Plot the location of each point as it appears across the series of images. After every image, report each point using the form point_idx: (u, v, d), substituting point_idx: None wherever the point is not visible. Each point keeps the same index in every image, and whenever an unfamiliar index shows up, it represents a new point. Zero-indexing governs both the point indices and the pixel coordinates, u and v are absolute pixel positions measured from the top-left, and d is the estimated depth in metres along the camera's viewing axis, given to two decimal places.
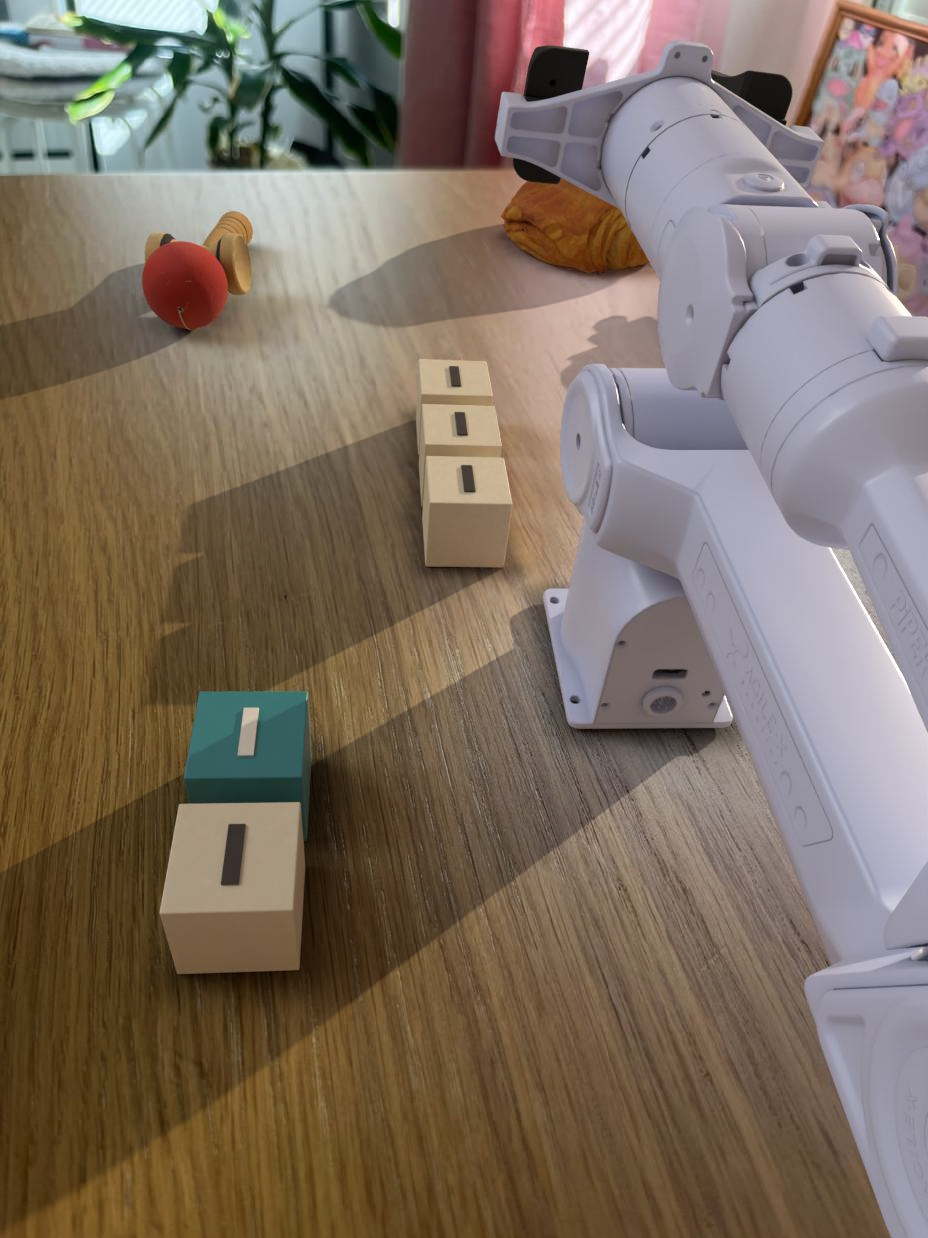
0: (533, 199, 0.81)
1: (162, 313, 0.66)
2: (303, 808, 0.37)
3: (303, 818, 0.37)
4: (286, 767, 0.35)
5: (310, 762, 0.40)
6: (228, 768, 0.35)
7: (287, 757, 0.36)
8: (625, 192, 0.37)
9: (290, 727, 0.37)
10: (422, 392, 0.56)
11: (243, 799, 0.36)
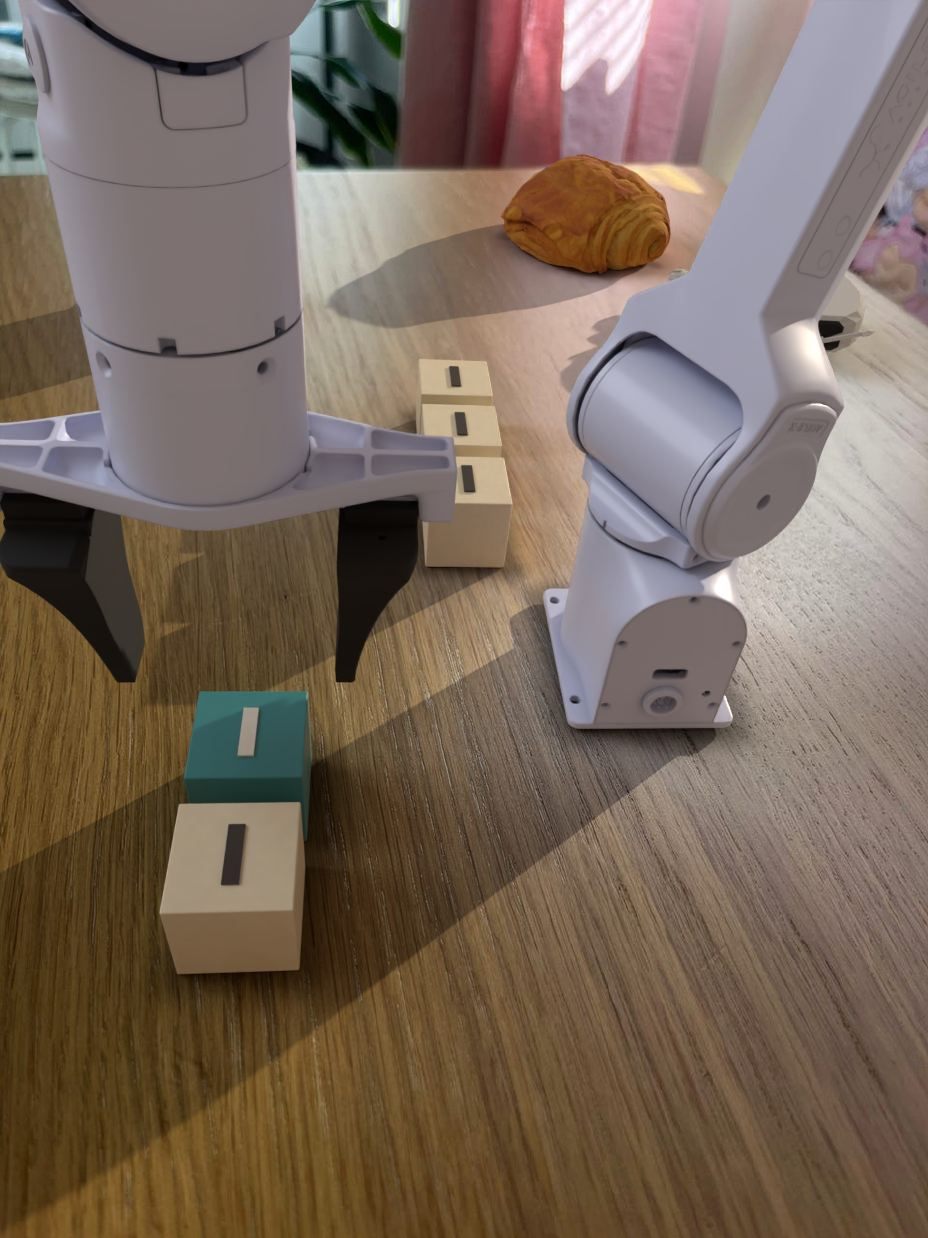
0: (533, 199, 0.81)
1: None
2: (303, 808, 0.37)
3: (303, 818, 0.37)
4: (286, 767, 0.35)
5: (310, 762, 0.40)
6: (228, 768, 0.35)
7: (287, 757, 0.36)
8: None
9: (290, 727, 0.37)
10: (422, 392, 0.56)
11: (243, 799, 0.36)
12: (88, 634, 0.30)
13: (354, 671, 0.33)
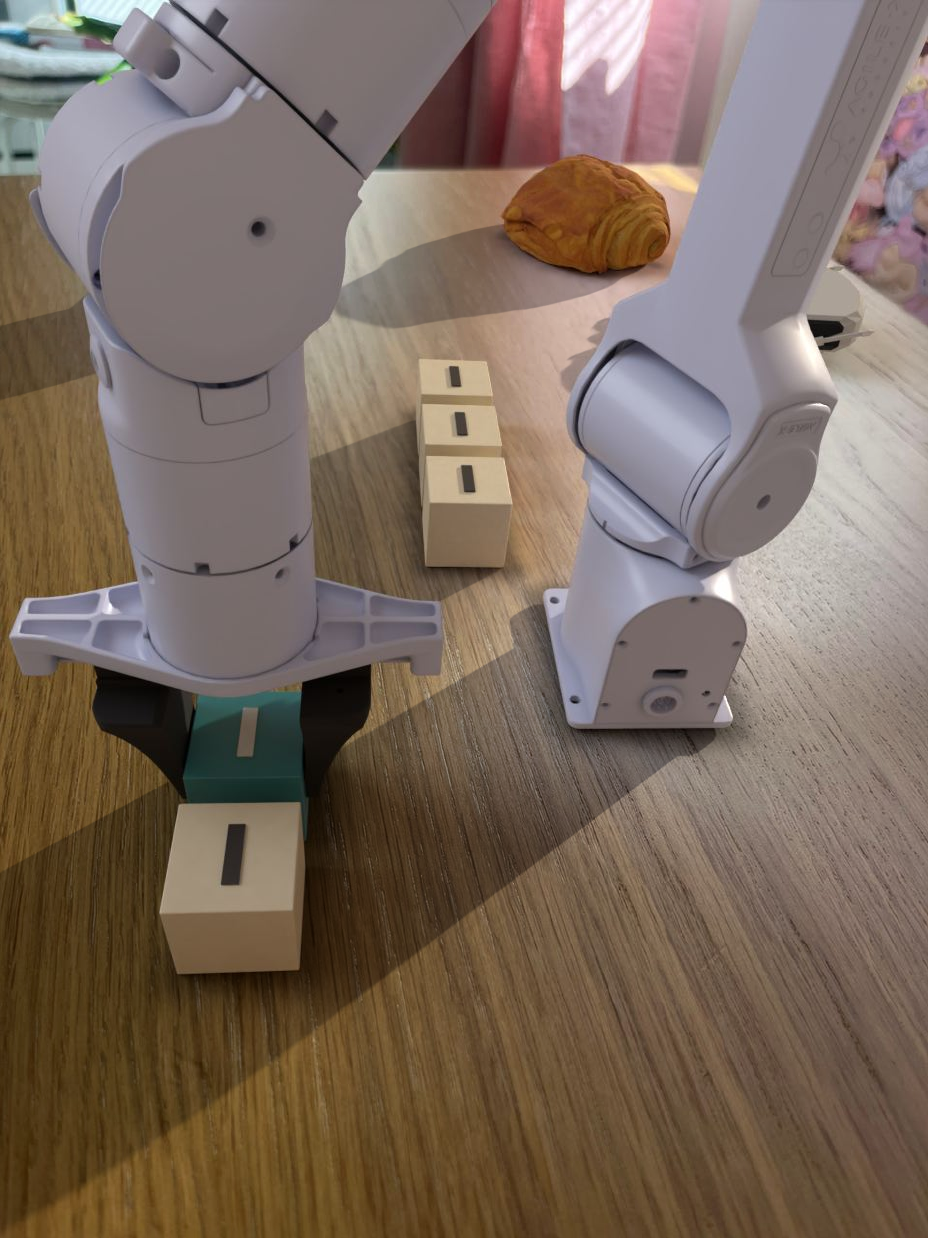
0: (533, 199, 0.81)
1: None
2: (302, 808, 0.37)
3: (302, 818, 0.37)
4: (285, 767, 0.35)
5: None
6: (227, 768, 0.35)
7: (286, 757, 0.36)
8: None
9: (289, 727, 0.37)
10: (422, 392, 0.56)
11: (242, 799, 0.36)
12: (162, 766, 0.35)
13: (320, 789, 0.37)
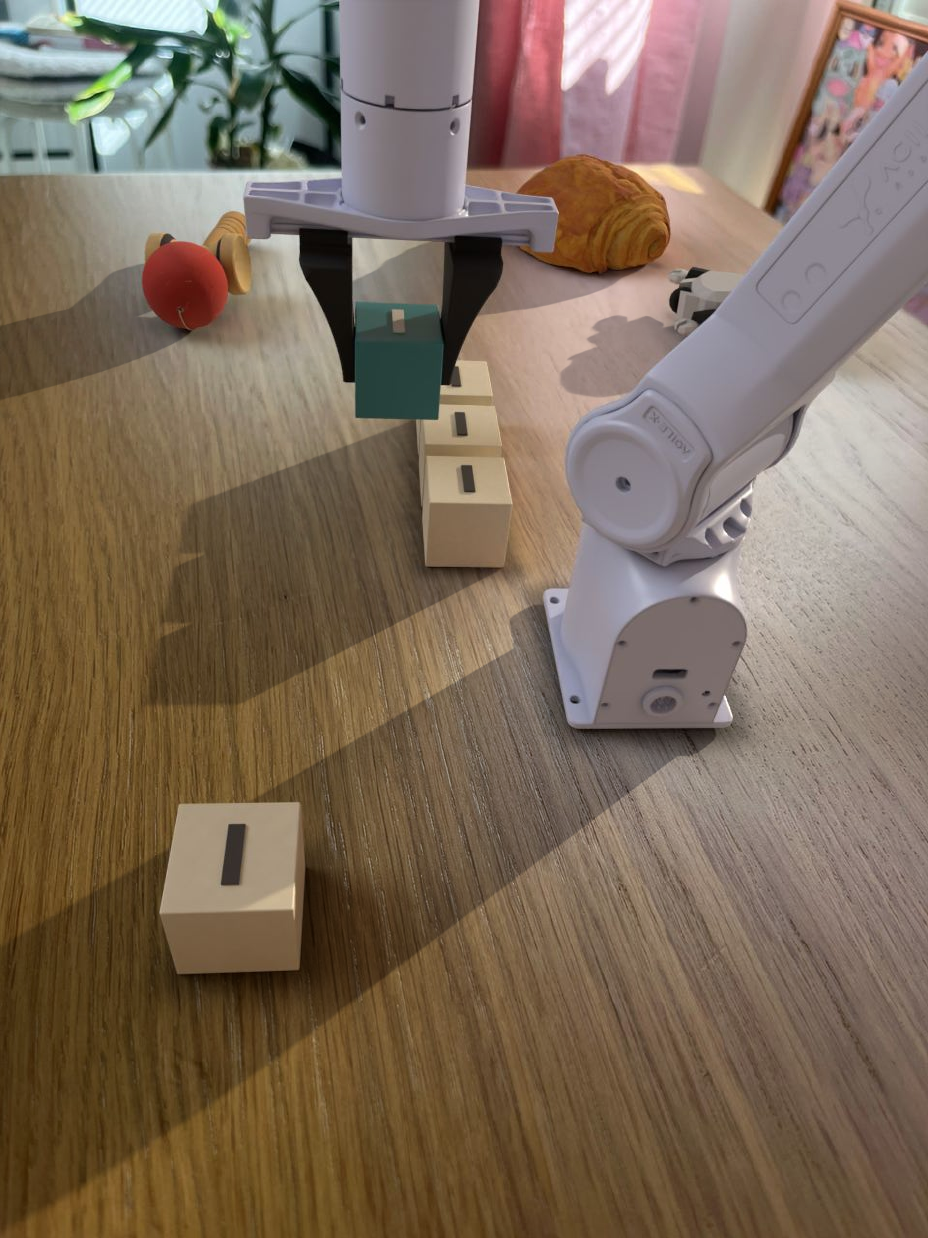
0: None
1: (162, 313, 0.66)
2: (440, 380, 0.48)
3: (439, 392, 0.48)
4: (430, 338, 0.46)
5: None
6: (387, 337, 0.46)
7: (430, 334, 0.47)
8: (341, 92, 0.40)
9: (429, 320, 0.48)
10: None
11: (396, 367, 0.47)
12: (337, 335, 0.46)
13: (451, 374, 0.49)
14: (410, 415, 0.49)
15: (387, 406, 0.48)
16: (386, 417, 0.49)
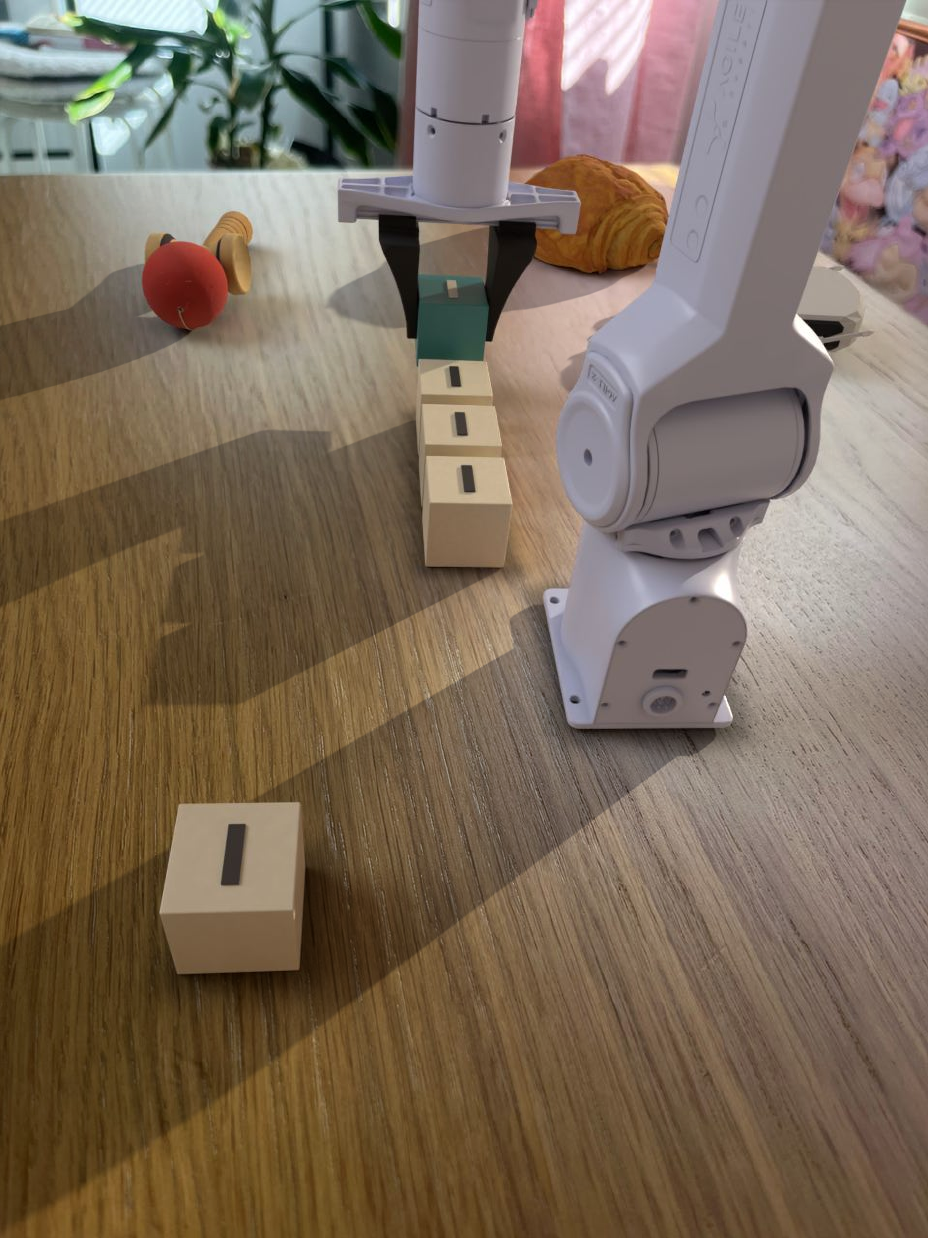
0: None
1: (162, 313, 0.66)
2: (485, 336, 0.60)
3: (483, 345, 0.60)
4: (478, 302, 0.59)
5: None
6: (444, 300, 0.59)
7: (477, 298, 0.59)
8: (416, 109, 0.52)
9: (476, 288, 0.60)
10: (422, 392, 0.56)
11: (451, 325, 0.59)
12: (405, 299, 0.58)
13: (493, 332, 0.61)
14: None
15: (442, 357, 0.61)
16: None
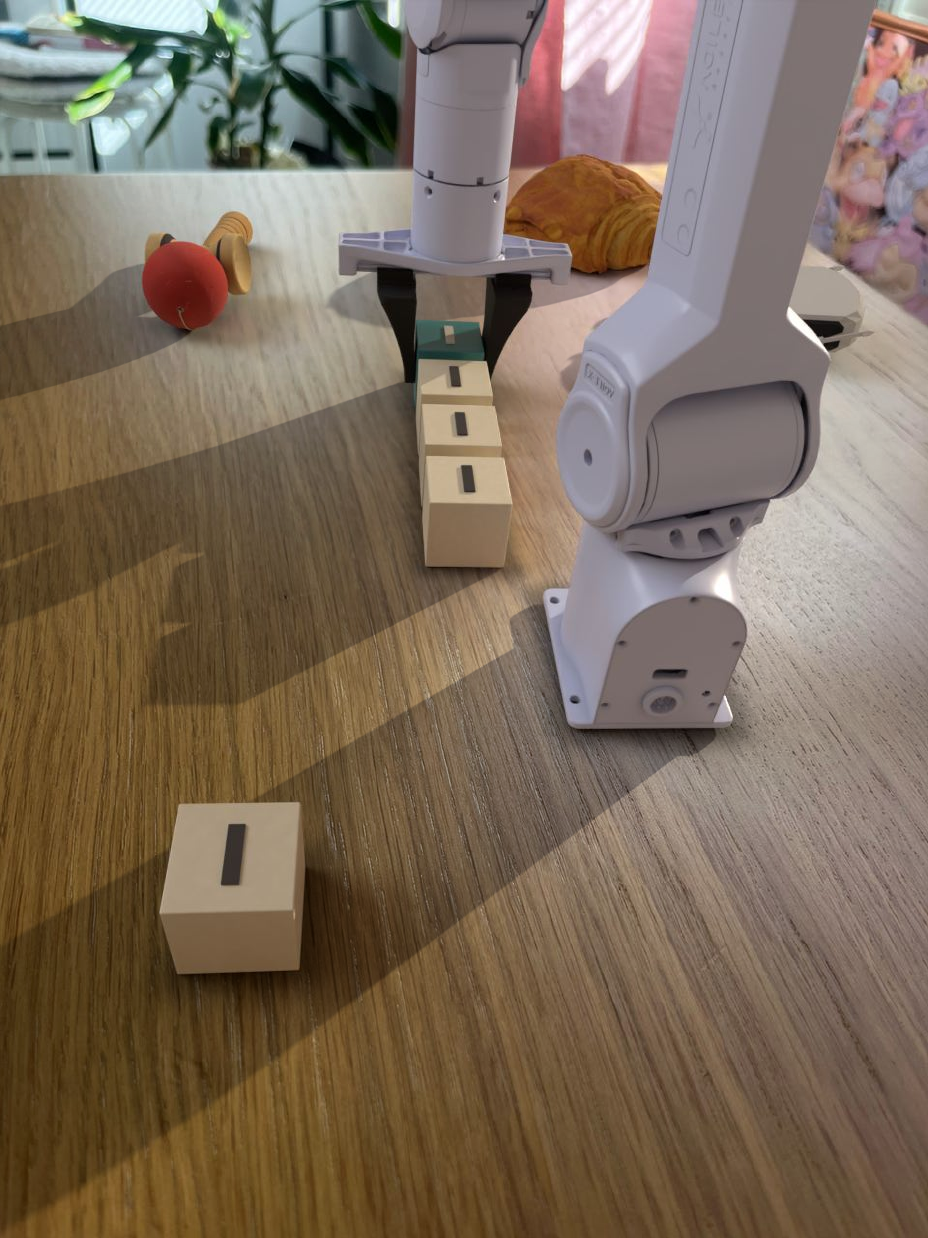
0: (533, 199, 0.81)
1: (162, 313, 0.66)
2: None
3: None
4: (474, 348, 0.61)
5: None
6: (441, 347, 0.61)
7: (474, 345, 0.61)
8: (414, 170, 0.54)
9: (472, 334, 0.62)
10: (422, 392, 0.56)
11: None
12: (403, 347, 0.61)
13: (490, 376, 0.63)
14: None
15: None
16: None
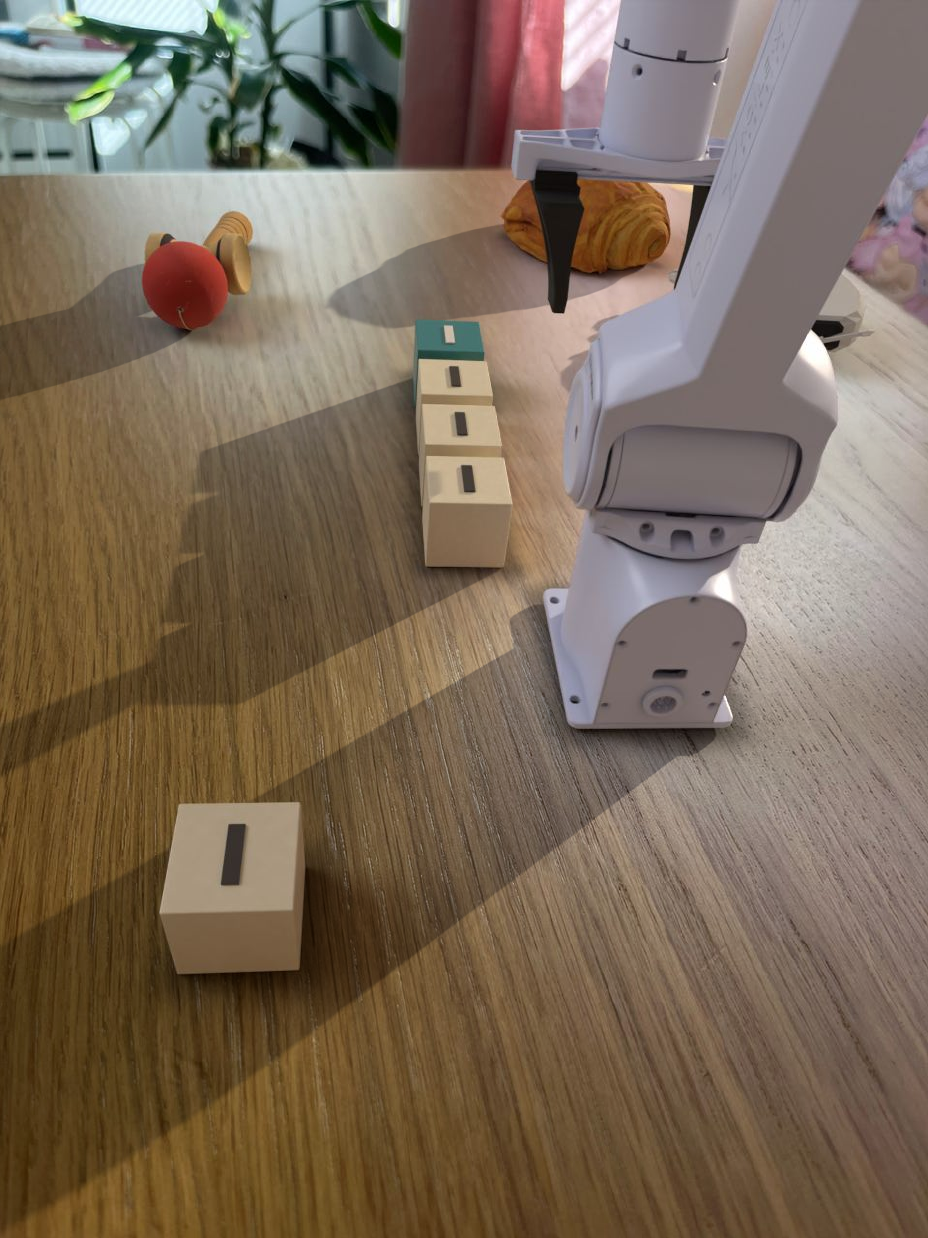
0: (533, 199, 0.81)
1: (162, 313, 0.66)
2: None
3: None
4: (474, 348, 0.61)
5: None
6: (442, 347, 0.61)
7: (474, 345, 0.61)
8: (617, 48, 0.46)
9: (472, 334, 0.62)
10: (422, 392, 0.56)
11: None
12: (557, 268, 0.52)
13: None
14: None
15: None
16: None
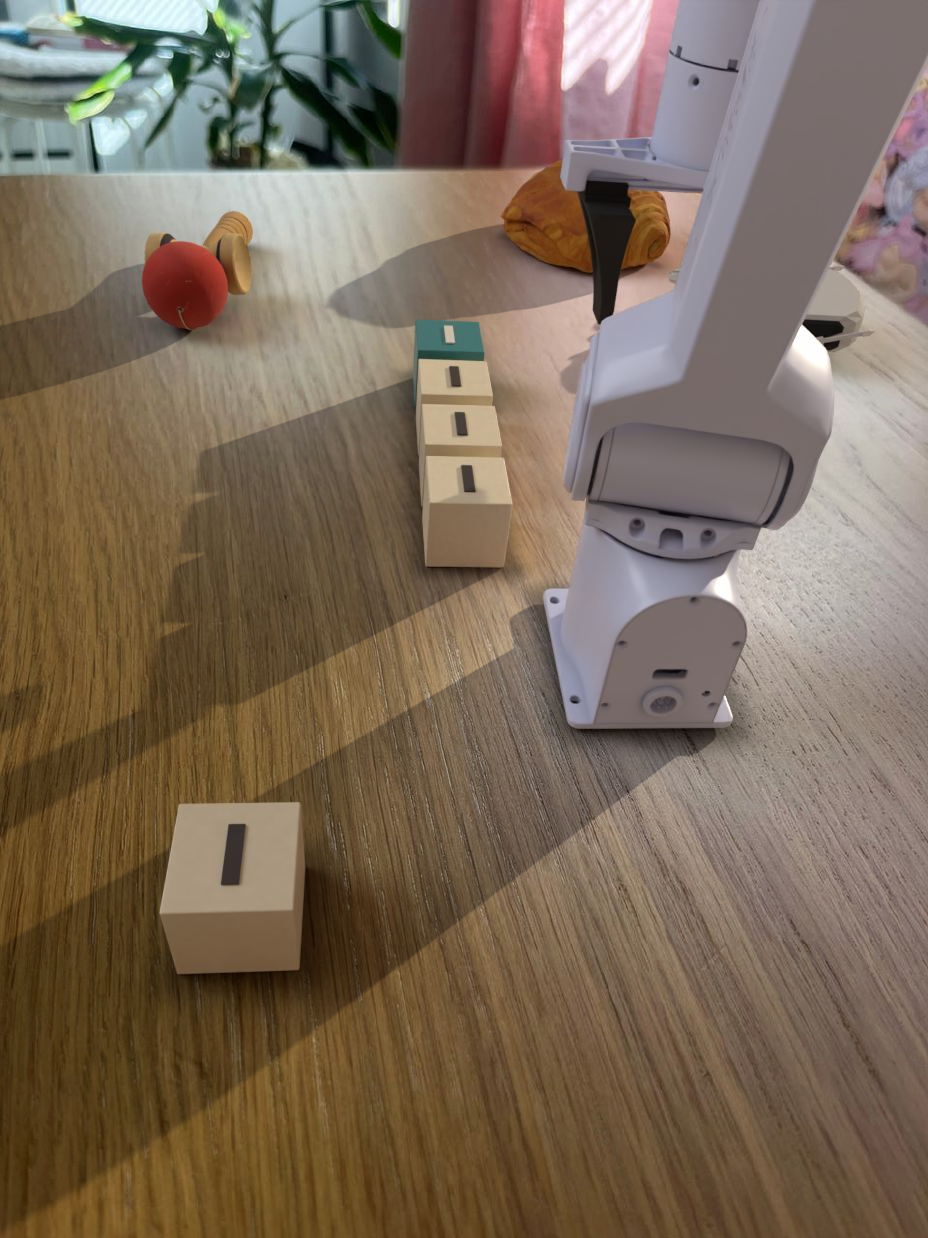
0: (533, 199, 0.81)
1: (162, 313, 0.66)
2: None
3: None
4: (474, 348, 0.61)
5: None
6: (442, 347, 0.61)
7: (474, 345, 0.61)
8: (673, 57, 0.45)
9: (472, 334, 0.62)
10: (422, 392, 0.56)
11: None
12: (605, 279, 0.51)
13: None
14: None
15: None
16: None
